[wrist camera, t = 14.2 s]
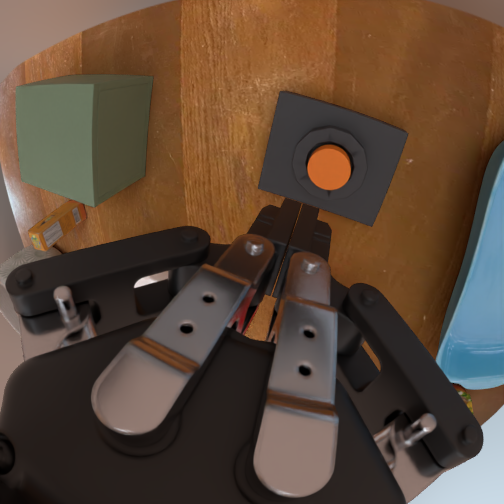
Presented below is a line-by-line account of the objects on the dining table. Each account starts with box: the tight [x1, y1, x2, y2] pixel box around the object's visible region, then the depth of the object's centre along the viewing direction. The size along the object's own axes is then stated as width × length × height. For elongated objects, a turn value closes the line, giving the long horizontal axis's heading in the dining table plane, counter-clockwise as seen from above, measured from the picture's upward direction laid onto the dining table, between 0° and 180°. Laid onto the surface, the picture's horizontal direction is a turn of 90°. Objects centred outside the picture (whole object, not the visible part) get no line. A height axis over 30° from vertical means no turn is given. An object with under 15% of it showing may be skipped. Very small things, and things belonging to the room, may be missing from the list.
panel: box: [258, 91, 408, 227], centre depth 26 cm, size 12×10×4 cm
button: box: [307, 145, 351, 190], centre depth 24 cm, size 4×4×2 cm
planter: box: [0, 245, 62, 336], centre depth 46 cm, size 17×17×15 cm
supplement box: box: [28, 200, 87, 251], centre depth 38 cm, size 3×3×10 cm
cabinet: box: [16, 74, 153, 207], centre depth 29 cm, size 15×13×10 cm
